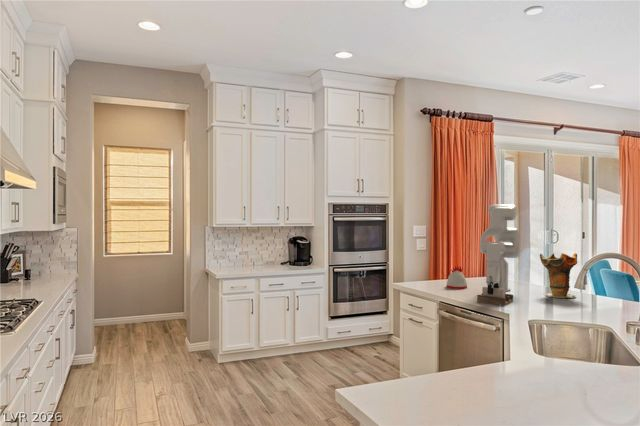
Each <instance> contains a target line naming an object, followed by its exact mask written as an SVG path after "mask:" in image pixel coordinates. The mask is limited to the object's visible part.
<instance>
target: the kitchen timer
mask: <svg viewBox="0 0 640 426" xmlns="http://www.w3.org/2000/svg"><path fill="white" fill-rule="evenodd" d="M452 269H453V270H452ZM463 270H464V268H463V267H462V266H456V265H455V267H453V268H451V269H450V271H451V273H450V274H449V275H448V277H447V280H446V288H447V289H451V290H452V289H453V290H467V289H468V283H467V279H466V276H465V275H464V274H463V272H462V271H463Z"/></svg>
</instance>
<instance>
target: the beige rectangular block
mask: <svg viewBox="0 0 640 426" xmlns="http://www.w3.org/2000/svg"><path fill="white" fill-rule="evenodd" d="M481 293H482V295H483V296H491V297H499V298H505V294H506V291H505V289H501V288H493V295H491V294H488V287H487V286H482V292H481Z"/></svg>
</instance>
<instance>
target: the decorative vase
mask: <svg viewBox="0 0 640 426" xmlns="http://www.w3.org/2000/svg"><path fill="white" fill-rule="evenodd" d="M539 259H540V261H541V264H542V265H543V266H544V267H545V269H547V272H548V280H549V285H548V286H549V288H550V290H551V291H550V292H551V293H549V289H548V293H545V294H544V296H546V297H548V298H549V297H550V298H557V299H558V298H559V299H567V298H568V299H572V298H576V297H577V296H576V295H575V294H570V293H569V290H570V291H571V289H570V288H571V286H570V279H571V278H570V274H571V271H572V268H573V267H574V266H576V265H577V264H578V254H577V253H576V252H574V253H573V254H572V255H571V256H570V255H568V254H565V253H561V254H560V257H556V256H555V253H551V255H550V256H547V257H544V255H543V254H542V253H539Z"/></svg>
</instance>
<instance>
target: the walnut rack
mask: <svg viewBox="0 0 640 426" xmlns="http://www.w3.org/2000/svg"><path fill="white" fill-rule="evenodd" d="M476 300H477V301H476V302H477V303H482V302H483V303H482V304H489V303H491V304H490V305H497V304H500V305H499V306H504V305H505V306H508V305H509V304H511V303H514V294H510V293H505V298H499V297H491V296H483V295H482V292H481V294H477V295H476Z"/></svg>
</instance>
